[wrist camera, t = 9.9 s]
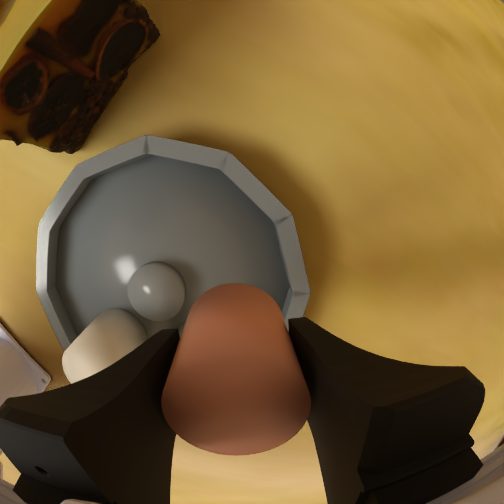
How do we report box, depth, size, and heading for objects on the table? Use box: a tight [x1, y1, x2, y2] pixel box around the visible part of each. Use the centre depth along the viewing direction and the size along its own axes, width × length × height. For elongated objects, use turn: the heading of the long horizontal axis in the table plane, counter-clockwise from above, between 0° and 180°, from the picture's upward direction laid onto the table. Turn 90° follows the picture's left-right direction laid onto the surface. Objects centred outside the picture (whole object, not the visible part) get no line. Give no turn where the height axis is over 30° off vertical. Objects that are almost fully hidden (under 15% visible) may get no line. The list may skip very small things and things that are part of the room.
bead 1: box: [62, 308, 147, 384], centre depth 16 cm, size 4×4×5 cm
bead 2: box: [161, 283, 311, 455], centre depth 9 cm, size 4×4×5 cm
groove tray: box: [36, 135, 311, 351], centre depth 17 cm, size 18×18×2 cm
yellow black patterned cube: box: [0, 0, 160, 154], centre depth 10 cm, size 10×10×10 cm
